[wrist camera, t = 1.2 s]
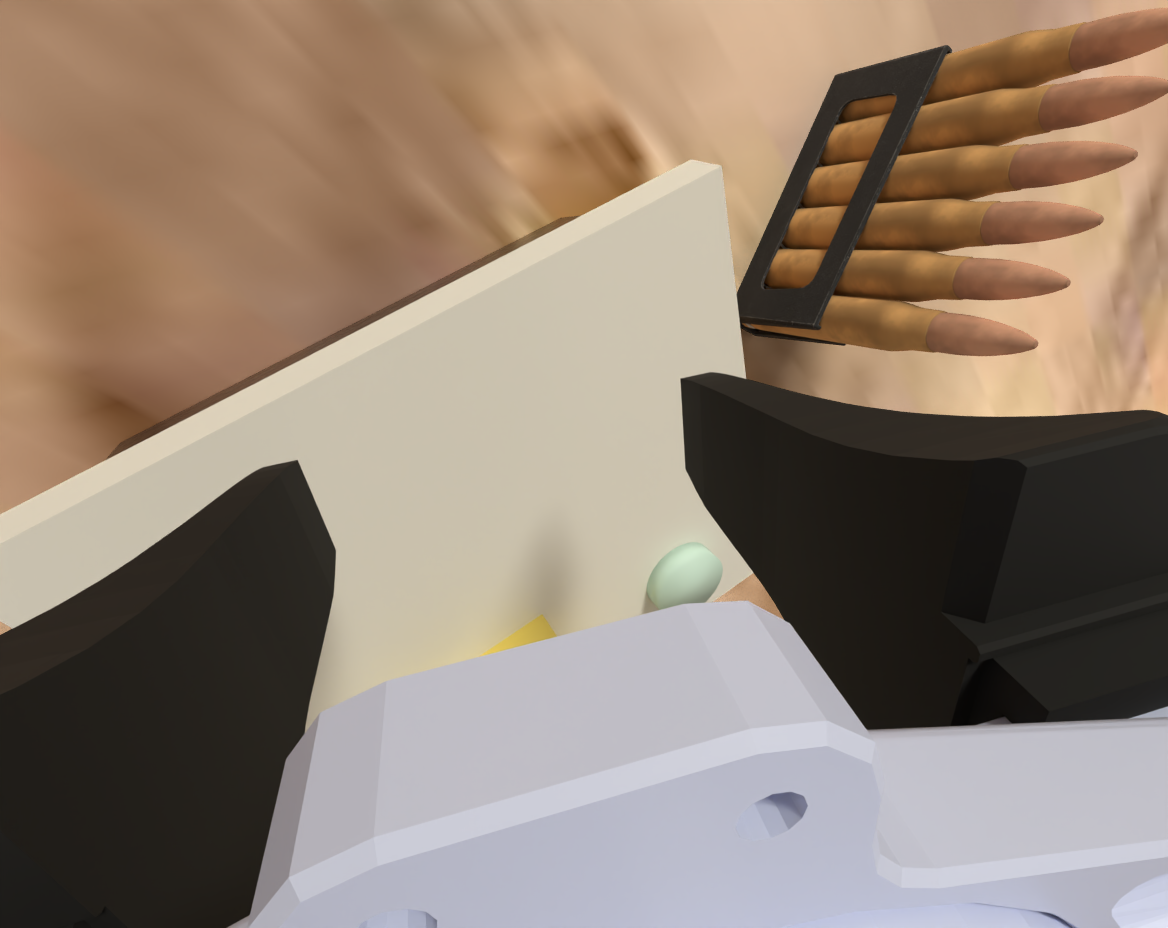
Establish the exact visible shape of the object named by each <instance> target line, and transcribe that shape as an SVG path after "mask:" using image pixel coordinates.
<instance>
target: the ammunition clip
mask: <svg viewBox="0 0 1168 928" xmlns="http://www.w3.org/2000/svg"><path fill="white" fill-rule="evenodd" d="M1167 43H1168V8H1158V9H1149V10H1142V11H1136V12H1130V13H1124V14H1119V15H1115V16H1111V17H1107V18H1103V19H1099V20H1096V21H1092V22H1088V23H1086V22H1083V23H1079V24H1075V25H1071V26H1066V27H1062V28H1058V29H1048V30H1035V31H1028V32H1024V33H1021V34H1017V35H1014V36H1010V37H1007V38H1003V39H1000V40H996V41H993V42H989V43H986V44H982V45H979V46H975V47H972V48H968V49H965V50H961V51H958V52H954V53H952V49H951V48H950V47H949V46H948V45H945V46H941V47H938V48H934V49H930V50H926V51H923V52H919V53H915V54H912V55H908V56H904V57H900V58H897V59H893V60H889V61H885V62H882V63H878V64H874V65H871V66H867V67H863V68H859V69H856V70H852V71H848V72H845V73H841V74H837V75H835V77H834V79H833V81H832V83H831V86H830V88H829V90H828V92H827V95H826V97H825V99H824V101H823V103H822V106H821V108H820V110H819V112H818V114H817V117H816V119H815V121H814V123H813V126H812V128H811V130H810V132H809V134H808V137H807V139H806V141H805V143H804V146H803V148H802V150H801V152H800V154H799V157H798V159H797V161H796V163H795V166H794V168H793V170H792V172H791V174H790V177H789V179H788V181H787V183H786V185H785V188H784V190H783V192H782V194H781V197H780V199H779V201H778V203H777V205H776V208H775V210H774V212H773V214H772V217H771V219H770V221H769V223H768V225H767V228H766V230H765V232H764V234H763V237H762V239H761V241H760V243H759V245H758V248H757V250H756V252H755V254H754V256H753V259H752V261H751V263H750V265H749V268H748V270H747V272H746V274H745V276H744V279H743V281H742V283H741V285H740V288H739V290H738V292H737V303H738V312H739V320H740V327H741V328H742V329H744V330H746V331H748V332H749V333H751V334H753V335H755V336H762V337H771V338H780V339H789V340H798V341H807V342H816V343H825V344H833V345H842V346H844V345H846V344H850V345H856V346H862V347H868V348H874V349H880V350H886V351H908V350H915V351H924V352H933V353H934V352H941V353H948V354H955V355H967V356H997V355H1008V354H1015V353H1021V352H1025V351H1029V350H1032V349H1035V348H1036V347H1037V346H1038V342H1037V340H1036V339H1034V338H1033V337H1032V336H1030V335H1028V334H1027V333H1025V332H1023V331H1021V330H1018V329H1016V328H1013V327H1011V326H1008V325H1005V324H1002V323H999V322H996V321H992V320H989V319H984V318H980V317H975V316H970V315H963V314H954V313H948V312H945V311H939V310H932V309H926V308H921V307H918V306H915V305H913V304H910V303H906V302H902V301H907V302H921V301H929V300H936V299H948V300H962V299H972V300H1009V299H1020V298H1027V297H1033V296H1039V295H1045V294H1049V293H1053V292H1056V291H1059V290H1062V289H1064V288H1067V287H1068V286H1069V285H1070V280H1069V279H1068V278H1067V277H1065V276H1063V275H1061V274H1060V273H1058V272H1055V271H1053V270H1050V269H1047V268H1043V267H1040V266H1037V265H1032V264H1028V263H1023V262H1018V261H1010V260H1002V259H985V258H973V257H964V256H949V255H945V254H941V253H937V252H942V251H949V250H955V249H959V248H964V247H974V246H990V245H999V244H1021V243H1030V242H1039V241H1046V240H1052V239H1057V238H1062V237H1066V236H1070V235H1074V234H1078V233H1081V232H1084V231H1087V230H1089V229H1091V228H1094V227H1096V226H1098V225H1100V224H1101V223H1102V222H1103V220H1104V218H1103V216H1102V215H1100V214H1098V213H1096V212H1094V211H1091V210H1088V209H1085V208H1082V207H1077V206H1072V205H1067V204H1061V203H1053V202H1035V201H1019V202H1000V201H990V202H974V201H968V200H973V199H977V198H980V197H984V196H987V195H991V194H994V193H1001V192H1009V191H1017V190H1021V189H1025V188H1036V187H1046V186H1052V185H1058V184H1064V183H1069V182H1074V181H1078V180H1082V179H1086V178H1090V177H1093V176H1096V175H1099V174H1103V173H1106V172H1109V171H1111V170H1114V169H1116V168H1119V167H1121V166H1123V165H1125V164H1127V163H1129V162H1131V161H1133V160H1134V159H1135V158H1136V157H1137V156H1138V152H1137V151H1136V150H1134V149H1132V148H1129V147H1126V146H1123V145H1118V144H1113V143H1104V142H1093V141H1066V142H1048V143H1040V144H1032V145H1028V144H1022V145H1012V146H1000V145H1003V144H1006V143H1009V142H1012V141H1014V140H1017V139H1020V138H1023V137H1027V136H1032V135H1037V134H1043V133H1048V132H1050V131H1052V130H1058V129H1064V128H1070V127H1076V126H1081V125H1085V124H1089V123H1093V122H1097V121H1100V120H1104V119H1108V118H1111V117H1114V116H1117V115H1120V114H1123V113H1126V112H1128V111H1131V110H1134V109H1136V108H1139V107H1141V106H1144V105H1146V104H1148V103H1150V102H1152V101H1154V100H1156V99H1158V98H1160V97H1162V96H1164V95H1165V94H1167V93H1168V80H1165V79H1161V78H1156V77H1146V76H1111V77H1101V78H1091V79H1083V80H1078V81H1073V82H1068V83H1063V84H1051V85H1045V86H1039V85H1041V84H1044V83H1046V82H1048V81H1051V80H1054V79H1058V78H1061V77H1065V76H1069V75H1073V74H1076V73H1080V72H1081V71H1084V70H1088V69H1092V68H1096V67H1100V66H1104V65H1108V64H1112V63H1115V62H1119V61H1122V60H1125V59H1128V58H1131V57H1134V56H1137V55H1140V54H1142V53H1145V52H1148V51H1150V50H1153V49H1155V48H1158V47H1160V46H1162V45H1164V44H1167ZM949 53H951V54H949ZM946 54H947V55H946ZM1037 86H1039V87H1037Z"/></svg>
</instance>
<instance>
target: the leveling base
mask: <svg viewBox="0 0 1168 928" xmlns="http://www.w3.org/2000/svg"><path fill="white" fill-rule="evenodd" d="M578 217H580V216H574V217H565V218H560V219H558V220H556V221H554V222H552V223H550V224H548V225H546V226H544V227H542V228H540V229H538V230H536V231H534V232H532V233H530V234H529V235H527V236H525V237H523V238H521V239H519V240H517V241H515V242H513V243H511V244H509V245H507V246H505V247H503V248H501V249H499V250H497V251H495V252H493V253H491V254H489V255H487V256H485V257H483V258H482V259H480V260H478V261H476V262H474V263H472V264H470V265H468V266H466V267H464V268H462V269H460V270H458V271H456V272H454V273H452V274H450V275H448V276H446V277H444V278H442V279H440V280H438V281H436V282H434V283H433V284H431V285H429V286H427V287H425V288H423V289H421V290H419V291H417V292H415V293H413V294H411V295H409V296H407V297H405V298H403V299H401V300H399V301H397V302H395V303H393V304H391V305H389V306H387V307H386V308H384V309H382V310H380V311H378V312H376V313H374V314H372V315H370V316H368V317H366V318H364V319H362V320H360V321H358V322H356V323H354V324H352V325H350V326H348V327H346V328H344V329H342V330H340V331H338V332H337V333H335V334H333V335H331V336H329V337H327V338H325V339H323V340H321V341H319V342H317V343H315V344H313V345H311V346H309V347H307V348H305V349H303V350H301V351H299V352H297V353H295V354H293V355H291V356H290V357H288V358H286V359H284V360H282V361H280V362H278V363H276V364H274V365H272V366H270V367H268V368H266V369H264V370H262V371H260V372H258V373H256V374H254V375H252V376H250V377H248V378H246V379H244V380H242V381H241V382H239V383H237V384H235V385H233V386H231V387H229V388H227V389H225V390H223V391H221V392H219V393H217V394H215V395H213V396H211V397H209V398H207V399H205V400H203V401H201V402H199V403H197V404H195V405H194V406H192V407H190V408H188V409H186V410H184V411H182V412H180V413H178V414H176V415H174V416H172V417H170V418H168V419H166V420H164V421H162V422H160V423H158V424H156V425H154V426H152V427H150V428H148V429H146V430H145V431H143V432H141V433H139V434H137V435H135V436H133V437H131V438H129V439H127V440H125V441H123V442H121V443H120V444H119V445H118V446H117V447H116V448H115V450H114V451H113V452H112V453H111V454H110V455H109V456H108V458H107V459H109V458H111V457H113V456H115V455H117V454H119V453H121V452H123V451H125V450H127V449H129V448H131V447H133V446H134V445H136V444H138V443H140V442H142V441H144V440H146V439H148V438H150V437H152V436H154V435H156V434H158V433H160V432H162V431H164V430H166V429H168V428H169V427H171V426H173V425H175V424H177V423H179V422H181V421H183V420H185V419H187V418H189V417H191V416H193V415H195V414H197V413H199V412H201V411H203V410H205V409H206V408H208V407H210V406H212V405H214V404H216V403H218V402H220V401H222V400H224V399H226V398H228V397H230V396H232V395H234V394H236V393H238V392H240V391H241V390H243V389H245V388H247V387H249V386H251V385H253V384H255V383H257V382H259V381H261V380H263V379H265V378H267V377H269V376H271V375H273V374H275V373H276V372H278V371H280V370H282V369H284V368H286V367H288V366H290V365H292V364H294V363H296V362H298V361H300V360H302V359H304V358H306V357H308V356H310V355H312V354H313V353H315V352H317V351H319V350H321V349H323V348H325V347H327V346H329V345H331V344H333V343H335V342H337V341H339V340H341V339H343V338H345V337H347V336H348V335H350V334H352V333H354V332H356V331H358V330H360V329H362V328H364V327H366V326H368V325H370V324H372V323H374V322H376V321H378V320H380V319H382V318H384V317H385V316H387V315H389V314H391V313H393V312H395V311H397V310H399V309H401V308H403V307H405V306H407V305H409V304H411V303H413V302H415V301H417V300H419V299H420V298H422V297H424V296H426V295H428V294H430V293H432V292H434V291H436V290H438V289H440V288H442V287H444V286H446V285H448V284H450V283H452V282H454V281H456V280H457V279H459V278H461V277H463V276H465V275H467V274H469V273H471V272H473V271H475V270H477V269H479V268H481V267H483V266H485V265H487V264H489V263H491V262H492V261H494V260H496V259H498V258H500V257H502V256H504V255H506V254H508V253H510V252H512V251H514V250H516V249H518V248H520V247H522V246H524V245H526V244H528V243H529V242H531V241H533V240H535V239H537V238H539V237H541V236H543V235H545V234H547V233H549V232H551V231H553V230H555V229H557V228H559V227H561V226H563V225H564V224H566V223H568V222H570V221H572V220H574V219H576V218H578ZM107 459H106V460H107Z"/></svg>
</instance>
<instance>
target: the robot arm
mask: <svg viewBox="0 0 1168 928" xmlns="http://www.w3.org/2000/svg"><path fill="white" fill-rule="evenodd" d="M680 382H681V399H682V417H683V435H684V453H685V469H686V471H687V473H688V475H689V477H690V479H691V481H692V483H693V485H694V487H695V489H696V491H697V493H698V495H699V497H700V499H701V501H702V502H703V504H704V506H705V508H706V509H707V510H708V512H709V513H710V515H711V516H712V517H713V519H714V520H715V522H716V523H717V524H718V526H719V527H720V528H721V530H722V531H723V532H724V534H725V535H726V536H727V538H728V539H729V541H730V542H731V543H732V545H733V546H734V547H735V549H736V550H737V551H738V553H739V554H740V555H741V557H742V558H743V559H744V561H745V562H746V563H747V565H748V566H749V567H750V569H751V570H752V571H753V573H754V574H755V575H756V577H757V578H758V579H759V581H760V582H761V583H762V585H763V586H764V588H765V589H766V591H767V592H768V594H769V595H770V597H771V598H772V600H773V601H774V603H775V604H776V606H777V608H778V610H779V611H780V613H781V615H782V617H783V618H784V620H785V621H784V620H783V619H781V618H779V617H777V616H775V615H773V614H771V613H769V612H768V611H766V610H764V609H762V608H760V607H758V606H756V605H754V604H752V603H751V602H749V601H731V602H710V603H690V604H681V605H677V606H673V607H669V608H666V609H662V610H658V611H654V612H650V613H646V614H642V615H639V616H635V617H631V618H627V619H623V620H619V621H615V622H612V623H608V624H604V625H600V626H596V627H592V628H588V629H585V630H581V631H577V632H573V633H569V634H565V635H561V636H557V637H554V638H550V639H546V640H542V641H538V642H534V643H530V644H527V645H523V646H519V647H515V648H511V649H507V650H503V651H500V652H496V653H492V654H488V655H484V656H480V657H476V658H473V659H469V660H465V661H461V662H457V663H453V664H449V665H445V666H442V667H438V668H434V669H430V670H426V671H422V672H418V673H415V674H411V675H407V676H403V677H399V678H395V679H391V680H388V681H385V682H383V683H381V684H379V685H377V686H375V687H373V688H370V689H368V690H366V691H364V692H362V693H360V694H358V695H356V696H354V697H352V698H349V699H347V700H345V701H343V702H341V703H339V704H337V705H335V706H333V707H331V708H328V709H326V710H324V711H322V712H320V713H319V715H318V716H317V718H316V719H315V720H314V722H313V723H312V724H311V726H310V727H309V728H308V730H307V731H306V733H305V726H306V720H307V715H308V709H309V703H310V698H311V694H312V690H313V685H314V681H315V677H316V672H317V668H318V664H319V659H320V655H321V651H322V646H323V642H324V638H325V633H326V629H327V624H328V620H329V615H330V610H331V606H332V601H333V596H334V583H335V566H336V549H335V546H334V544H333V542H332V539H331V537H330V535H329V532H328V530H327V528H326V525H325V523H324V520H323V518H322V516H321V513H320V511H319V509H318V506H317V504H316V502H315V499H314V497H313V495H312V492H311V490H310V488H309V485H308V483H307V481H306V478H305V476H304V474H303V471H302V469H301V466H300V464H299V462H298V460H294V461H290V462H285V463H280V464H275V465H271V466H266V467H262V468H260V469H258V470H256V471H254V472H253V473H251V474H249V475H248V476H246V477H245V478H243V479H242V480H241V481H239V482H238V483H236V484H235V485H234V486H232V487H231V488H229V489H228V490H227V491H225V492H224V493H223V494H221V495H220V496H219V497H217V498H216V499H215V500H213V501H212V502H211V503H210V504H208V505H207V506H206V507H204V508H203V509H202V510H200V511H199V512H198V513H196V514H195V515H194V516H192V517H191V518H190V519H188V520H187V521H186V522H184V523H183V524H182V525H180V526H179V527H178V528H176V529H175V530H173V531H172V532H171V533H169V534H168V535H166V536H165V537H163V538H162V539H161V540H159V541H158V542H156V543H155V544H154V545H152V546H151V547H149V548H148V549H146V550H145V551H144V552H142V553H141V554H139V555H138V556H137V557H135V558H134V559H132V560H131V561H129V562H128V563H126V564H125V565H123V566H122V567H120V568H119V569H117V570H116V571H114V572H112V573H111V574H109V575H108V576H106V577H104V578H103V579H101V580H100V581H98V582H96V583H95V584H93V585H91V586H90V587H88V588H86V589H85V590H83V591H81V592H79V593H78V594H76V595H74V596H73V597H71V598H69V599H68V600H66V601H64V602H62V603H61V604H59V605H57V606H55V607H53V608H52V609H50V610H48V611H46V612H44V613H42V614H40V615H38V616H36V617H34V618H32V619H30V620H28V621H26V622H25V623H23V624H21V625H19V626H17V627H15V628H13V629H11V630H9V631H7V632H5V633H3V634H1V635H0V928H1168V415H1165V414H1163V413H1160V412H1156V411H1150V410H1134V411H1120V412H1105V413H1091V414H1076V415H1062V416H1030V417H976V416H953V415H936V414H921V413H910V412H900V411H893V410H885V409H878V408H870V407H863V406H857V405H852V404H846V403H841V402H836V401H832V400H827V399H822V398H818V397H813V396H809V395H805V394H801V393H797V392H793V391H789V390H785V389H781V388H778V387H774V386H770V385H767V384H763V383H759V382H756V381H752V380H748V379H744V378H741V377H736V376H732V375H728V374H723V373H715V372H708V373H704V374H699V375H694V376H690V377H685V378H680Z"/></svg>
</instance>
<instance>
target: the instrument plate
mask: <svg viewBox="0 0 1168 928" xmlns="http://www.w3.org/2000/svg"><path fill="white" fill-rule="evenodd" d="M708 372H715V373H723V374H728V375H732V376H736V377H741V378H744V379H746V373H745V364H744V355H743V346H742V338H741V329H740V320H739V312H738V303H737V294H736V286H735V277H734V268H733V260H732V251H731V242H730V234H729V225H728V216H727V207H726V199H725V190H724V181H723V173H722V166H720V165H715V164H711V163H706V162H701V161H696V160H689V161H687V162H685V163H683V164H681V165H679V166H677V167H675V168H673V169H671V170H670V171H668V172H666V173H664V174H662V175H660V176H658V177H656V178H654V179H652V180H650V181H648V182H646V183H644V184H642V185H640V186H638V187H636V188H635V189H633V190H631V191H629V192H627V193H625V194H623V195H621V196H619V197H617V198H615V199H613V200H611V201H609V202H607V203H605V204H603V205H601V206H599V207H598V208H596V209H594V210H592V211H590V212H588V213H586V214H584V215H582V216H580V217H578V218H576V219H574V220H572V221H570V222H568V223H566V224H564V225H563V226H561V227H559V228H557V229H555V230H553V231H551V232H549V233H547V234H545V235H543V236H541V237H539V238H537V239H535V240H533V241H531V242H529V243H528V244H526V245H524V246H522V247H520V248H518V249H516V250H514V251H512V252H510V253H508V254H506V255H504V256H502V257H500V258H498V259H496V260H494V261H492V262H491V263H489V264H487V265H485V266H483V267H481V268H479V269H477V270H475V271H473V272H471V273H469V274H467V275H465V276H463V277H461V278H459V279H457V280H456V281H454V282H452V283H450V284H448V285H446V286H444V287H442V288H440V289H438V290H436V291H434V292H432V293H430V294H428V295H426V296H424V297H422V298H420V299H419V300H417V301H415V302H413V303H411V304H409V305H407V306H405V307H403V308H401V309H399V310H397V311H395V312H393V313H391V314H389V315H387V316H385V317H384V318H382V319H380V320H378V321H376V322H374V323H372V324H370V325H368V326H366V327H364V328H362V329H360V330H358V331H356V332H354V333H352V334H350V335H348V336H347V337H345V338H343V339H341V340H339V341H337V342H335V343H333V344H331V345H329V346H327V347H325V348H323V349H321V350H319V351H317V352H315V353H313V354H312V355H310V356H308V357H306V358H304V359H302V360H300V361H298V362H296V363H294V364H292V365H290V366H288V367H286V368H284V369H282V370H280V371H278V372H276V373H275V374H273V375H271V376H269V377H267V378H265V379H263V380H261V381H259V382H257V383H255V384H253V385H251V386H249V387H247V388H245V389H243V390H241V391H240V392H238V393H236V394H234V395H232V396H230V397H228V398H226V399H224V400H222V401H220V402H218V403H216V404H214V405H212V406H210V407H208V408H206V409H205V410H203V411H201V412H199V413H197V414H195V415H193V416H191V417H189V418H187V419H185V420H183V421H181V422H179V423H177V424H175V425H173V426H171V427H169V428H168V429H166V430H164V431H162V432H160V433H158V434H156V435H154V436H152V437H150V438H148V439H146V440H144V441H142V442H140V443H138V444H136V445H134V446H133V447H131V448H129V449H127V450H125V451H123V452H121V453H119V454H117V455H115V456H113V457H111V458H109V459H107V460H105V461H103V462H101V463H99V464H97V465H96V466H94V467H92V468H90V469H88V470H86V471H84V472H82V473H80V474H78V475H76V476H74V477H72V478H70V479H68V480H66V481H64V482H62V483H61V484H59V485H57V486H55V487H53V488H51V489H49V490H47V491H45V492H43V493H41V494H39V495H37V496H35V497H33V498H31V499H29V500H27V501H25V502H24V503H22V504H20V505H18V506H16V507H14V508H12V509H10V510H8V511H6V512H4V513H2V514H0V621H1V622H2V623H4V624H6V625H7V626H9V627H11V628H12V629H13V628H15V627H17V626H19V625H21V624H23V623H25V622H26V621H28V620H30V619H32V618H34V617H36V616H38V615H40V614H42V613H44V612H46V611H48V610H50V609H52V608H53V607H55V606H57V605H59V604H61V603H62V602H64V601H66V600H68V599H69V598H71V597H73V596H74V595H76V594H78V593H79V592H81V591H83V590H85V589H86V588H88V587H90V586H91V585H93V584H95V583H96V582H98V581H100V580H101V579H103V578H104V577H106V576H108V575H109V574H111V573H112V572H114V571H116V570H117V569H119V568H120V567H122V566H123V565H125V564H126V563H128V562H129V561H131V560H132V559H134V558H135V557H137V556H138V555H139V554H141V553H142V552H144V551H145V550H146V549H148V548H149V547H151V546H152V545H154V544H155V543H156V542H158V541H159V540H161V539H162V538H163V537H165V536H166V535H168V534H169V533H171V532H172V531H173V530H175V529H176V528H178V527H179V526H180V525H182V524H183V523H184V522H186V521H187V520H188V519H190V518H191V517H192V516H194V515H195V514H196V513H198V512H199V511H200V510H202V509H203V508H204V507H206V506H207V505H208V504H210V503H211V502H212V501H213V500H215V499H216V498H217V497H219V496H220V495H221V494H223V493H224V492H225V491H227V490H228V489H229V488H231V487H232V486H234V485H235V484H236V483H238V482H239V481H241V480H242V479H243V478H245V477H246V476H248V475H249V474H251V473H253V472H254V471H256V470H258V469H260V468H262V467H266V466H271V465H275V464H280V463H285V462H290V461H294V460H298V462H299V464H300V466H301V469H302V471H303V474H304V476H305V478H306V481H307V483H308V485H309V488H310V490H311V492H312V495H313V497H314V499H315V502H316V504H317V506H318V509H319V511H320V513H321V516H322V518H323V520H324V523H325V525H326V528H327V530H328V532H329V535H330V537H331V539H332V542H333V544H334V546H335V549H336V566H335V583H334V596H333V601H332V606H331V610H330V615H329V620H328V624H327V629H326V633H325V638H324V642H323V646H322V651H321V655H320V659H319V664H318V668H317V672H316V677H315V681H314V685H313V690H312V694H311V698H310V703H309V709H308V715H307V720H306V726H305V733H306V731H307V730H308V728H309V727H310V726H311V724H312V723H313V722H314V720H315V719H316V718H317V716H318V715H319V713H320V712H322V711H324V710H326V709H328V708H331V707H333V706H335V705H337V704H339V703H341V702H343V701H345V700H347V699H349V698H352V697H354V696H356V695H358V694H360V693H362V692H364V691H366V690H368V689H370V688H373V687H375V686H377V685H379V684H381V683H383V682H385V681H388V680H391V679H395V678H399V677H403V676H407V675H411V674H415V673H418V672H422V671H426V670H430V669H434V668H438V667H442V666H445V665H449V664H453V663H457V662H461V661H465V660H469V659H473V658H476V657H480V656H484V655H488V654H492V653H496V652H500V651H503V650H507V649H511V648H515V647H519V646H523V645H527V644H530V643H534V642H538V641H542V640H546V639H550V638H554V637H557V636H561V635H565V634H569V633H573V632H577V631H581V630H585V629H588V628H592V627H596V626H600V625H604V624H608V623H612V622H615V621H619V620H623V619H627V618H631V617H635V616H639V615H642V614H646V613H650V612H654V611H658V610H662V609H666V608H669V607H673V606H677V605H681V604H690V603H710V602H713V601H715V600H716V599H718V598H719V597H720V596H722V595H723V594H725V593H726V592H727V591H729V590H730V589H732V588H733V587H734V586H736V585H737V584H739V583H740V582H741V581H743V580H744V579H745V578H747V577H748V576H750V575H751V574H752V573H753V571H752V570H751V569H750V567H749V566H748V565H747V563H746V562H745V561H744V559H743V558H742V557H741V555H740V554H739V553H738V551H737V550H736V549H735V547H734V546H733V545H732V543H731V542H730V541H729V539H728V538H727V536H726V535H725V534H724V532H723V531H722V530H721V528H720V527H719V526H718V524H717V523H716V522H715V520H714V519H713V517H712V516H711V515H710V513H709V512H708V510H707V509H706V508H705V506H704V504H703V502H702V501H701V499H700V497H699V495H698V493H697V491H696V489H695V487H694V485H693V483H692V481H691V479H690V477H689V475H688V473H687V471H686V469H685V453H684V435H683V417H682V399H681V382H680V378H685V377H690V376H694V375H699V374H704V373H708Z"/></svg>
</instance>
